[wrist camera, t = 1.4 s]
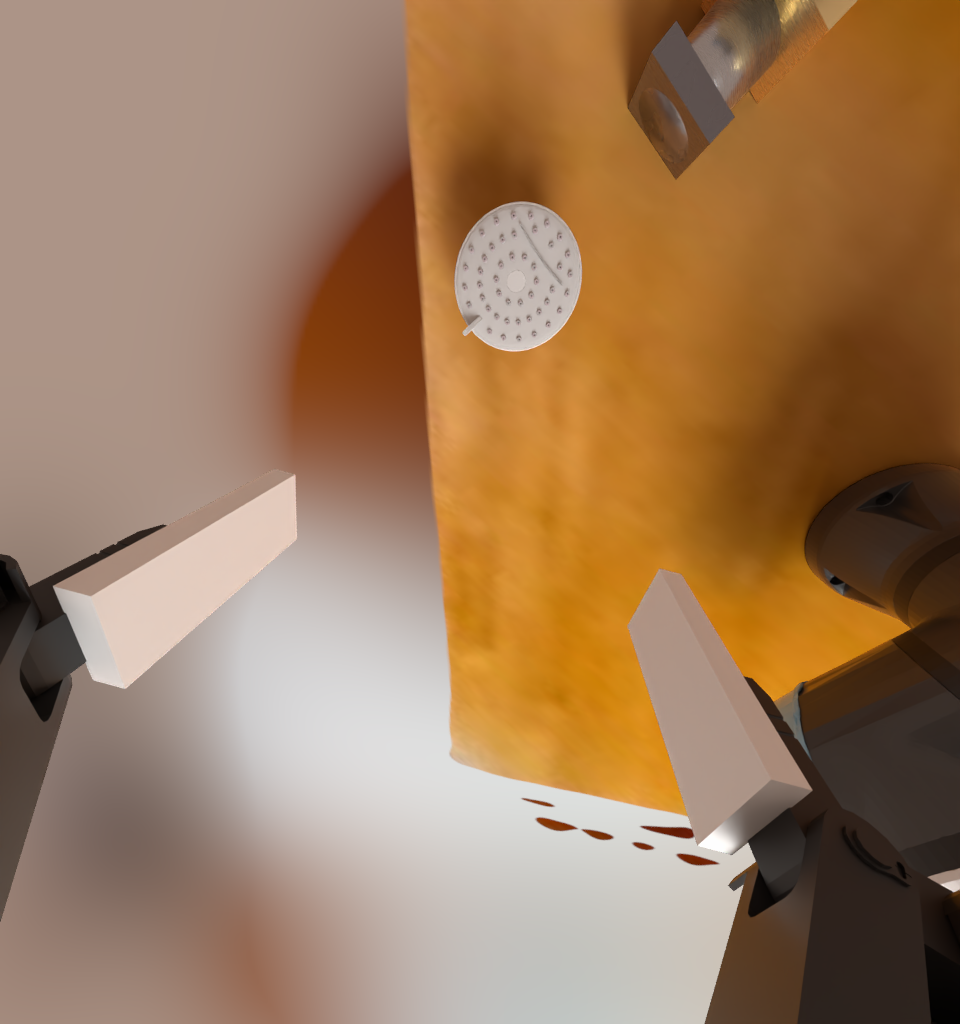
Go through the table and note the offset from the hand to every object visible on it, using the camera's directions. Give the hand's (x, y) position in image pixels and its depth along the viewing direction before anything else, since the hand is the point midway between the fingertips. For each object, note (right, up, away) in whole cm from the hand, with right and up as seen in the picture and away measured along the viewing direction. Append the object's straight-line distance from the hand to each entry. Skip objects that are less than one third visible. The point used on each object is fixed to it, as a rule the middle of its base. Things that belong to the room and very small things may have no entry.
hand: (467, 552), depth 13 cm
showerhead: (+4, +21, +20) cm, 29 cm away
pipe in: (+15, +31, +13) cm, 37 cm away
